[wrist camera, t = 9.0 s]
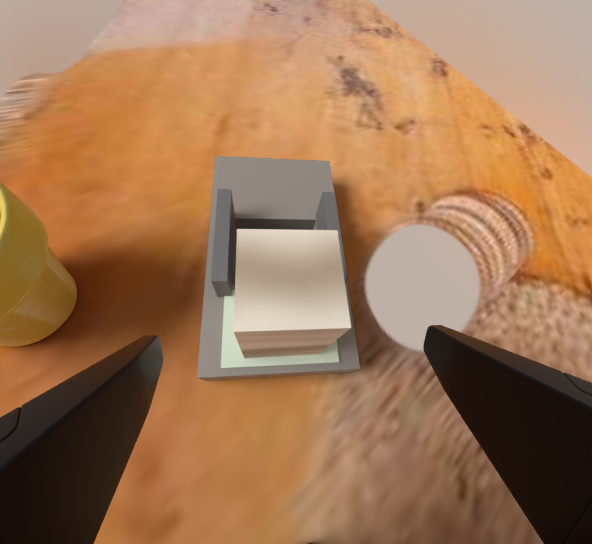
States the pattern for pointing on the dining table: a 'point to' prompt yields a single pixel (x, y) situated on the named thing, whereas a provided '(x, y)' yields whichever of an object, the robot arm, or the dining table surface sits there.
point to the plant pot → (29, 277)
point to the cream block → (288, 292)
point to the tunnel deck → (222, 259)
